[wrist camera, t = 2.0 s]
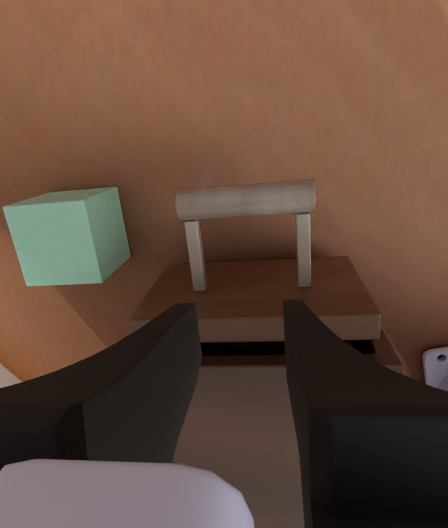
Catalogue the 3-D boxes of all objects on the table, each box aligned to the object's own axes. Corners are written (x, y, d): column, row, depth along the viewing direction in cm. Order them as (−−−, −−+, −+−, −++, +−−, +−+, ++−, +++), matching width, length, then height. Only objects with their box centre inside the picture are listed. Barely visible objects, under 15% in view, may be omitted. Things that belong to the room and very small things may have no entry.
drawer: (154, 181, 20) (102, 207, 14) (349, 165, 19) (389, 186, 12) (193, 426, 26) (169, 522, 20) (344, 429, 25) (369, 533, 18)
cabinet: (166, 284, 23) (112, 367, 15) (354, 276, 22) (403, 364, 14) (193, 446, 28) (162, 573, 20) (349, 450, 26) (383, 590, 18)
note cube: (48, 192, 22) (1, 206, 18) (117, 186, 22) (83, 200, 18) (66, 260, 24) (26, 286, 20) (131, 256, 23) (102, 283, 19)
